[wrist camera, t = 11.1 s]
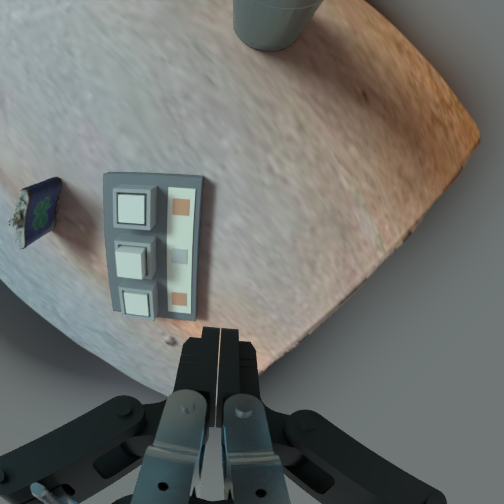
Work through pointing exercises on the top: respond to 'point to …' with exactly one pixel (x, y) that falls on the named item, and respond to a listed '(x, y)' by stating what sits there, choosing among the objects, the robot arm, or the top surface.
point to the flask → (36, 211)
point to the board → (157, 241)
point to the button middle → (131, 261)
